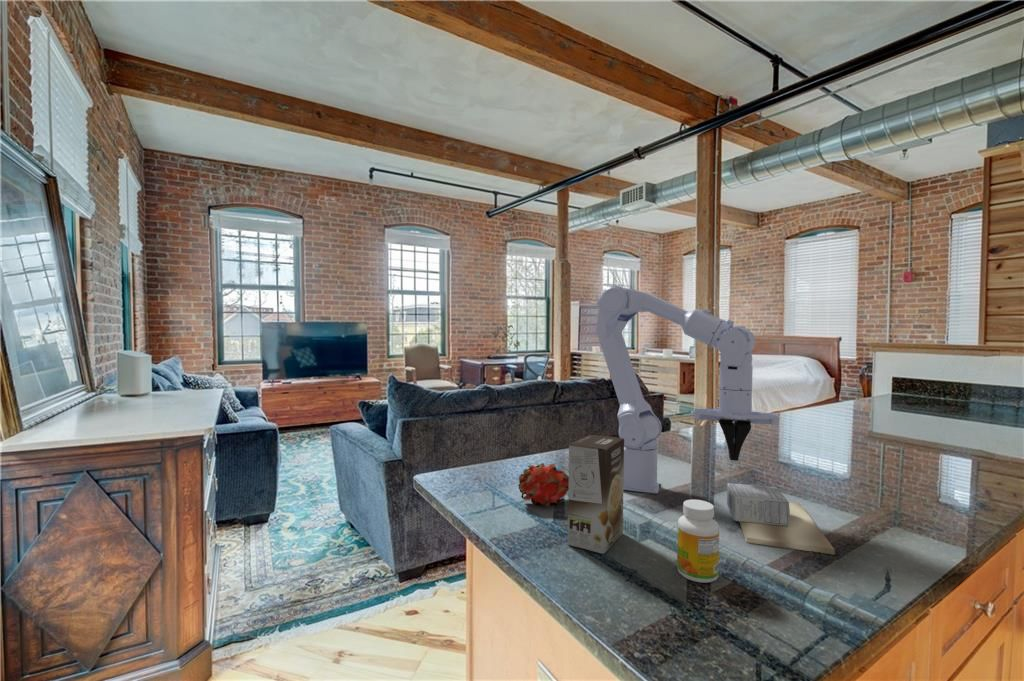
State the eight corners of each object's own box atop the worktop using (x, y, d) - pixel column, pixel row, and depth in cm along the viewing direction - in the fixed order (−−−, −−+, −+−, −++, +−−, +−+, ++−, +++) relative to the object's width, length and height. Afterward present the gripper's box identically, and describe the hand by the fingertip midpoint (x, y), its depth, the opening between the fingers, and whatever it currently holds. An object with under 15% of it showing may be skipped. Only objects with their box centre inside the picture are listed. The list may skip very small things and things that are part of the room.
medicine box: (733, 521, 80) (789, 527, 78) (734, 495, 80) (790, 501, 78) (726, 505, 88) (777, 510, 85) (726, 481, 88) (777, 486, 85)
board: (746, 542, 74) (746, 537, 74) (731, 499, 93) (731, 496, 93) (834, 554, 70) (834, 549, 70) (799, 507, 89) (799, 503, 89)
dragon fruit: (511, 513, 89) (565, 514, 94) (530, 499, 83) (587, 500, 88) (507, 471, 94) (558, 473, 99) (524, 454, 88) (578, 458, 92)
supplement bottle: (670, 564, 67) (671, 497, 67) (706, 563, 67) (707, 497, 67) (687, 584, 61) (688, 512, 61) (726, 583, 62) (727, 511, 62)
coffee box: (605, 555, 69) (606, 449, 69) (566, 545, 73) (567, 444, 72) (624, 533, 77) (625, 437, 77) (588, 524, 81) (588, 433, 80)
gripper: (695, 389, 87) (694, 460, 88) (782, 393, 83) (780, 469, 83) (694, 385, 94) (692, 451, 94) (774, 389, 89) (773, 459, 89)
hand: (733, 459), depth 89 cm, fingers closed
